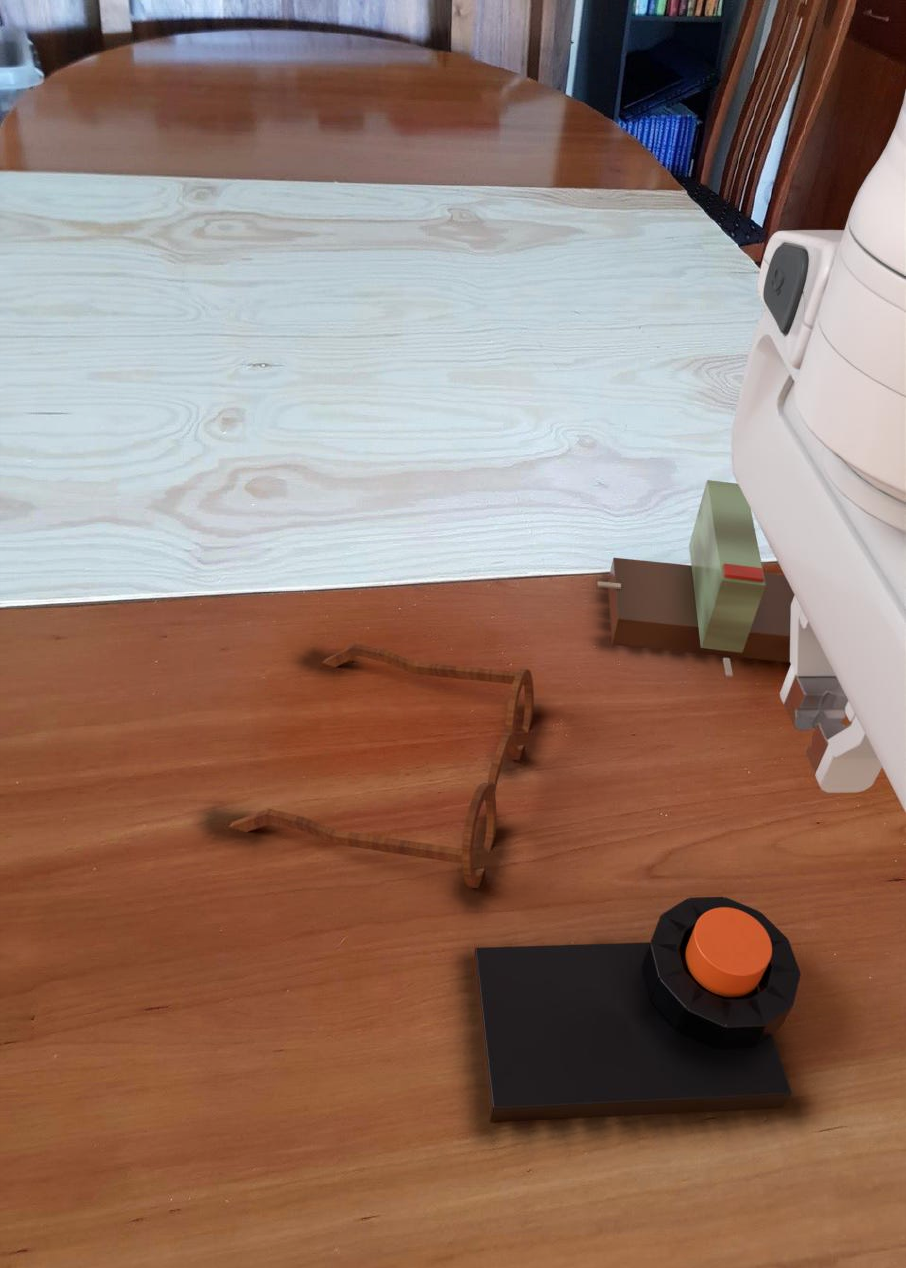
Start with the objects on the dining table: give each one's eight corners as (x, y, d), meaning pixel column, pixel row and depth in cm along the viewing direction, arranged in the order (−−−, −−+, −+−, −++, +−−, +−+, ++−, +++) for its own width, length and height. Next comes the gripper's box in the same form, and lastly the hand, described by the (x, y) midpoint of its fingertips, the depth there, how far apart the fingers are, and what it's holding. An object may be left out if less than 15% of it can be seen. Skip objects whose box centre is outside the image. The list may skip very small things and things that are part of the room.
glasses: (475, 912, 50) (485, 847, 46) (218, 838, 52) (210, 771, 49) (534, 721, 59) (547, 656, 56) (316, 666, 61) (315, 599, 58)
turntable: (795, 575, 72) (809, 537, 70) (838, 726, 61) (856, 687, 59) (586, 554, 72) (594, 515, 70) (593, 702, 61) (602, 661, 59)
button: (748, 929, 46) (759, 905, 45) (770, 996, 44) (783, 973, 42) (676, 931, 46) (685, 907, 44) (695, 999, 43) (705, 976, 42)
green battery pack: (688, 545, 68) (707, 476, 65) (726, 549, 68) (747, 480, 65) (700, 648, 61) (722, 576, 57) (742, 653, 61) (767, 581, 57)
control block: (749, 944, 50) (772, 894, 47) (806, 1117, 44) (836, 1070, 41) (468, 953, 48) (476, 902, 45) (487, 1133, 42) (497, 1086, 39)
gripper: (1414, 648, 19) (1066, 1032, 28) (937, 225, 34) (810, 563, 44) (1092, 648, 18) (841, 1042, 28) (750, 216, 34) (661, 561, 43)
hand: (820, 745), depth 36 cm, fingers closed
